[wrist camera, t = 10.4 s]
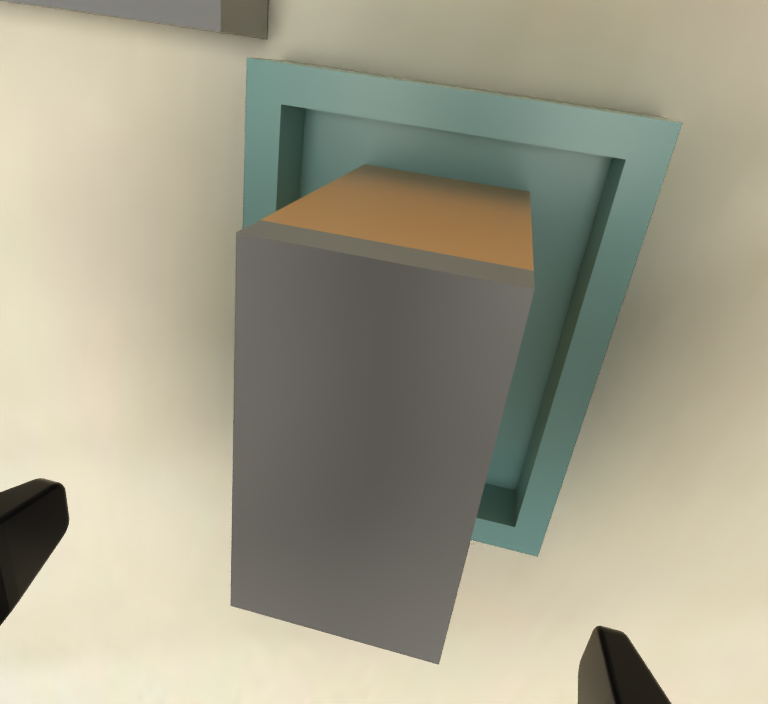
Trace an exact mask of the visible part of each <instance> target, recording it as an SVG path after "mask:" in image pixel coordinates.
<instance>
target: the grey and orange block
mask: <svg viewBox="0 0 768 704" xmlns="http://www.w3.org/2000/svg"><path fill="white" fill-rule="evenodd" d="M534 290H535V285H534V265H533V244H532V224H531V204H530V192H528V191H522V190H516V189H510V188H504V187H499V186H493V185H487V184H481V183H475V182H469V181H463V180H457V179H451V178H445V177H439V176H433V175H427V174H421V173H415V172H409V171H403V170H397V169H391V168H385V167H379V166H373V165H367V164H364V165H362V166H360V167H359V168H357V169H355V170H353V171H351V172H349V173H347V174H345V175H344V176H342V177H340V178H338V179H336V180H334V181H332V182H330V183H329V184H327V185H325V186H323V187H321V188H319V189H317V190H315V191H314V192H312V193H310V194H308V195H306V196H304V197H302V198H300V199H298V200H297V201H295V202H293V203H291V204H289V205H287V206H285V207H283V208H282V209H280V210H278V211H276V212H274V213H272V214H270V215H268V216H267V217H265V218H263V219H261V220H259V221H257V222H255V223H253V224H252V225H250V226H248V227H246V228H244V229H242V230H240V231H238V232H237V233H236V291H235V356H234V421H233V486H232V551H231V606H233V607H237V608H241V609H244V610H248V611H251V612H255V613H258V614H262V615H265V616H269V617H272V618H276V619H279V620H283V621H287V622H290V623H294V624H297V625H301V626H304V627H308V628H311V629H315V630H318V631H322V632H326V633H329V634H333V635H336V636H340V637H343V638H347V639H350V640H354V641H357V642H361V643H364V644H368V645H372V646H375V647H379V648H382V649H386V650H389V651H393V652H396V653H400V654H403V655H407V656H410V657H414V658H418V659H421V660H425V661H428V662H432V663H435V664H439V662H440V658H441V654H442V650H443V646H444V642H445V638H446V634H447V630H448V627H449V623H450V619H451V615H452V611H453V607H454V603H455V599H456V595H457V591H458V587H459V583H460V580H461V576H462V572H463V568H464V564H465V560H466V556H467V552H468V548H469V544H470V540H471V537H472V533H473V529H474V525H475V521H476V517H477V513H478V509H479V505H480V501H481V497H482V493H483V490H484V486H485V482H486V478H487V474H488V470H489V466H490V462H491V458H492V454H493V450H494V447H495V443H496V439H497V435H498V431H499V427H500V423H501V419H502V415H503V411H504V407H505V404H506V400H507V396H508V392H509V388H510V384H511V380H512V376H513V372H514V368H515V364H516V360H517V357H518V353H519V349H520V345H521V341H522V337H523V333H524V329H525V325H526V321H527V317H528V314H529V310H530V306H531V302H532V298H533V294H534Z"/></svg>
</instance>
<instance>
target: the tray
mask: <svg viewBox="0 0 768 704" xmlns="http://www.w3.org/2000/svg"><path fill="white" fill-rule="evenodd" d="M681 126H682V123H681V122H677V121H674V120H670V119H666V118H663V117H658V116H651V115H644V114H638V113H631V112H624V111H618V110H611V109H604V108H598V107H591V106H584V105H578V104H571V103H564V102H558V101H551V100H544V99H538V98H531V97H524V96H517V95H511V94H504V93H497V92H491V91H484V90H477V89H471V88H464V87H457V86H451V85H444V84H437V83H431V82H424V81H417V80H411V79H404V78H397V77H390V76H384V75H377V74H370V73H364V72H357V71H350V70H344V69H337V68H330V67H324V66H317V65H310V64H304V63H297V62H290V61H284V60H272V59H260V58H247V77H246V119H245V161H244V203H243V229H244V228H246V227H248V226H250V225H252V224H253V223H255V222H257V221H259V220H261V219H263V218H265V217H267V216H268V215H270V214H272V213H274V212H276V211H278V210H280V209H282V208H283V207H285V206H287V205H289V204H291V203H293V202H295V201H297V200H298V199H300V198H302V197H304V196H306V195H308V194H310V193H312V192H314V191H315V190H317V189H319V188H321V187H323V186H325V185H327V184H329V183H330V182H332V181H334V180H336V179H338V178H340V177H342V176H344V175H345V174H347V173H349V172H351V171H353V170H355V169H357V168H359V167H360V166H362V165H364V164H367V165H373V166H379V167H385V168H391V169H397V170H403V171H409V172H415V173H421V174H427V175H433V176H439V177H445V178H451V179H457V180H463V181H469V182H475V183H481V184H487V185H493V186H499V187H504V188H510V189H516V190H522V191H528V192H530V204H531V224H532V244H533V265H534V285H535V290H534V294H533V298H532V302H531V306H530V310H529V314H528V317H527V321H526V325H525V329H524V333H523V337H522V341H521V345H520V349H519V353H518V357H517V360H516V364H515V368H514V372H513V376H512V380H511V384H510V388H509V392H508V396H507V400H506V404H505V407H504V411H503V415H502V419H501V423H500V427H499V431H498V435H497V439H496V443H495V447H494V450H493V454H492V458H491V462H490V466H489V470H488V474H487V478H486V482H485V486H484V490H483V493H482V497H481V501H480V505H479V509H478V513H477V517H476V521H475V525H474V529H473V533H472V537H471V540H474V541H478V542H482V543H486V544H490V545H494V546H498V547H502V548H506V549H510V550H513V551H517V552H521V553H525V554H529V555H533V556H537V557H538V554H539V551H540V548H541V545H542V542H543V539H544V536H545V533H546V530H547V527H548V524H549V521H550V518H551V515H552V512H553V509H554V506H555V503H556V500H557V497H558V494H559V491H560V488H561V485H562V482H563V479H564V476H565V473H566V470H567V467H568V464H569V461H570V458H571V455H572V452H573V449H574V446H575V443H576V440H577V437H578V434H579V431H580V428H581V425H582V422H583V419H584V416H585V413H586V410H587V407H588V404H589V401H590V398H591V395H592V392H593V389H594V386H595V383H596V380H597V377H598V374H599V371H600V368H601V365H602V362H603V359H604V356H605V353H606V350H607V347H608V344H609V341H610V338H611V335H612V332H613V329H614V326H615V323H616V320H617V317H618V314H619V311H620V308H621V305H622V302H623V299H624V296H625V293H626V290H627V287H628V284H629V281H630V278H631V275H632V272H633V269H634V266H635V263H636V260H637V257H638V254H639V251H640V248H641V245H642V242H643V239H644V236H645V233H646V231H647V228H648V225H649V222H650V219H651V216H652V213H653V210H654V207H655V204H656V201H657V198H658V195H659V192H660V189H661V186H662V183H663V180H664V177H665V174H666V171H667V168H668V165H669V162H670V159H671V156H672V153H673V150H674V147H675V144H676V141H677V138H678V135H679V132H680V129H681Z"/></svg>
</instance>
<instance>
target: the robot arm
mask: <svg viewBox="0 0 768 704" xmlns="http://www.w3.org/2000/svg"><path fill="white" fill-rule="evenodd" d="M68 525H69V513H68V506H67V498H66V491H65V488H64V486H63V485H62V484H61V483H58V482H55V481H51V480H47V479H42V478H39V479H35V480H32V481H29V482H27V483H24V484H21V485H18V486H16V487H13V488H10V489H8V490H5V491H2V492H0V625H1V624H2V623H3V622H4V620H5V619H6V618H7V616H8V615H9V614H10V613H11V611H12V610H13V609H14V607H15V606H16V604H17V603H18V602H19V600H20V599H21V597H22V596H23V594H24V593H25V592H26V590H27V589H28V587H29V586H30V584H31V583H32V581H33V580H34V578H35V577H36V575H37V574H38V572H39V571H40V570H41V568H42V567H43V565H44V564H45V562H46V561H47V559H48V558H49V556H50V555H51V553H52V552H53V550H54V549H55V548H56V546H57V545H58V543H59V542H60V540H61V539H62V537H63V536H64V534H65V532H66V530H67V528H68ZM578 704H671V702H670V701H669V699H668V698H667V696H666V695H665V693H664V691H663V690H662V688H661V687H660V685H659V684H658V682H657V681H656V679H655V678H654V676H653V675H652V673H651V672H650V670H649V669H648V667H647V666H646V664H645V662H644V661H643V659H642V658H641V656H640V655H639V653H638V652H637V650H636V649H635V647H634V646H633V644H632V643H631V641H630V640H629V638H628V637H627V635H626V634H624V633H623V632H621V631H618V630H615V629H611V628H607V627H603V626H597V627H596V628H595V629H594V630H593V632H592V634H591V637H590V639H589V641H588V644H587V646H586V649H585V651H584V653H583V656H582V658H581V661H580V665H579V672H578Z"/></svg>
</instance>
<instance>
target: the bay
mask: <svg viewBox="0 0 768 704" xmlns="http://www.w3.org/2000/svg"><path fill="white" fill-rule="evenodd" d="M0 1H7V2H14V3H21V4H27V5H34V6H41V7H48V8H55V9H62V10H69V11H76V12H83V13H89V14H96V15H103V16H110V17H117V18H124V19H131V20H138V21H145V22H152V23H158V24H165V25H172V26H179V27H186V28H193V29H200V30H207V31H214V32H220V33H227V34H234V35H241V36H248V37H255V38H262V39H267V20H268V0H0Z"/></svg>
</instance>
